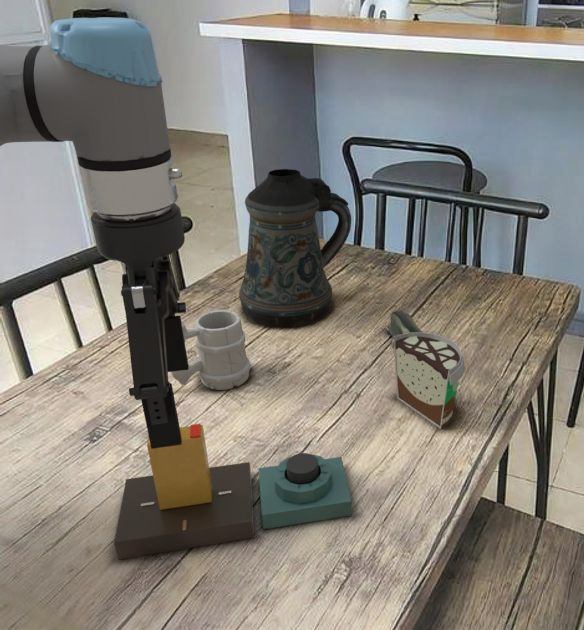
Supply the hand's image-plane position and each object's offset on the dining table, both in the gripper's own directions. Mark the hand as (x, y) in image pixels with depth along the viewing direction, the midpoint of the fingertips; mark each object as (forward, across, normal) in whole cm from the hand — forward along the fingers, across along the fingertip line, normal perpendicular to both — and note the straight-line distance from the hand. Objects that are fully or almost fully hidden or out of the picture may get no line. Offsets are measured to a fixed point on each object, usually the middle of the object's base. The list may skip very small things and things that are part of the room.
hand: (171, 404), depth 70 cm
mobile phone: (+16, +31, -33) cm, 48 cm away
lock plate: (+15, 0, 0) cm, 15 cm away
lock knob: (+13, 0, 0) cm, 13 cm away
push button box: (+16, 0, -13) cm, 20 cm away
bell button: (+12, 0, -13) cm, 17 cm away
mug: (+16, +28, -2) cm, 32 cm away
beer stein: (+16, +51, -16) cm, 56 cm away
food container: (+16, +15, -33) cm, 39 cm away
